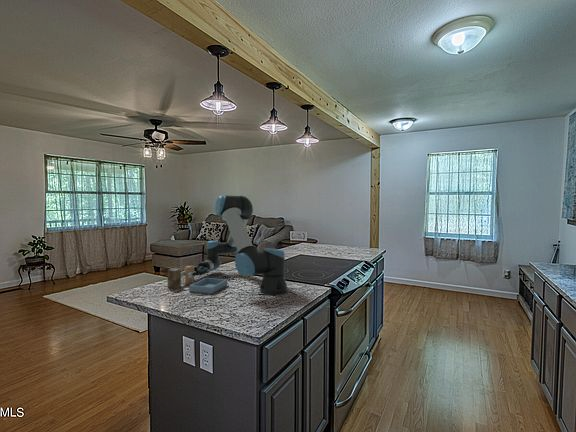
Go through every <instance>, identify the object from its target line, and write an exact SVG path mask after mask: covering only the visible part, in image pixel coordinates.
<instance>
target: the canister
mask: <svg viewBox="0 0 576 432" xmlns="http://www.w3.org/2000/svg"><path fill="white" fill-rule="evenodd" d="M194 267H195V265H186V266H184V269H185V277H184V284H185V285H186V286H189V285H191V284H194V283H195V276H193V277H191V278H188V273H190V272H193V271H194Z"/></svg>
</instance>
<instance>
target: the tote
mask: <svg viewBox="0 0 576 432" xmlns="http://www.w3.org/2000/svg"><path fill="white" fill-rule="evenodd" d="M227 286H228V279H227V278H226V279H224V278H212V277H204V278H202V279H200V280H198V281H196V282H194V284H191V285H188V291H189V293H194V294H195V293H196V294H206V295H207V294H208V295H213V294H215V293H217V292H218V291H220V290H222V289H224V288H226V287H227Z"/></svg>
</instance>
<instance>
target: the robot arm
mask: <svg viewBox="0 0 576 432" xmlns="http://www.w3.org/2000/svg"><path fill="white" fill-rule="evenodd" d="M214 208H215V209H214V211H215V214H216V216H220V217H221V218H222V220H223V221H225V222H226V225H227V227H228V230H229V236H228V238H227V241H226V242H219V241H218V240H208V241H207V243H206V256H207V257H206V260H204V261H201V262H199V263H198V264H197V265H196V266H194V271H193V272H190V273H188V278H191V277H193V276H194V277H197V276H203V275H205V274H208V273H210V272H211V271H214V270H217V269H219V268H220V267H221V265H222V261H221V259H220V257H219V255H227V254H236V256H235V257H234V263H235V264H234V266H235V268H236V271H237V272H238V274H239V275H241V276H244V277H246V276H247V277H248V276H249V277H250V276H255V275H256V276H257V275H261V274H262V279H261V282H260V285H259V292H260V293H262V294H265V295H281V294H285V293H287V292H288V285H287V282H286V278H285V259H286V258H285V251H284V250H282V249H279V248H271V247H264V248H263V249H262V251H259V250H258V247H257V246H255V245H253V243H252V240H251V238H250V235H249V232H248V231H247V228H246V226H247V223H248V221H249V220H250V219H251V218H252V215H253V212H254V207H253V204H252V202H251V200H250V199H249V198H248V197H246V196H243V195H225V194H224V195H219V196H217V198H216V201H215V206H214ZM184 276H185V268H184V269H182V271H181V278H183V277H184Z"/></svg>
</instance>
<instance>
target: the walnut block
mask: <svg viewBox="0 0 576 432" xmlns="http://www.w3.org/2000/svg"><path fill="white" fill-rule="evenodd" d="M181 270H182V268H175V267H173V268H169V269H167V288H168V289H178V288H179V287H182V281H181V280H182V277H181V272H182V271H181Z"/></svg>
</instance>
